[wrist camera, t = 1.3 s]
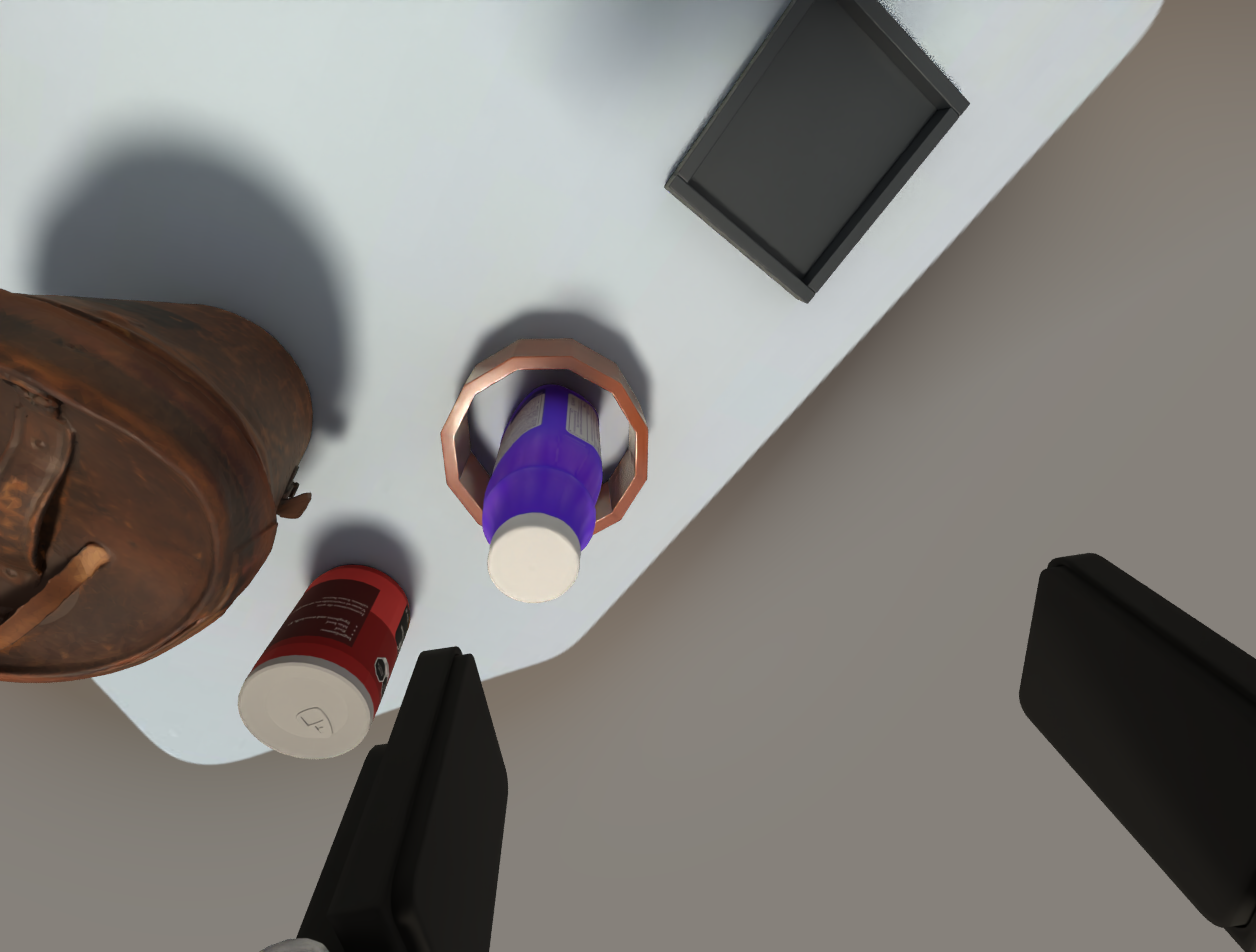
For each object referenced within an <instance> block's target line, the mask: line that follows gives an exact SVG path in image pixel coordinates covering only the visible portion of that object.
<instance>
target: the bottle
mask: <svg viewBox="0 0 1256 952" xmlns="http://www.w3.org/2000/svg"><path fill="white" fill-rule="evenodd" d="M602 476H603V471H602V461H601V449H600V437H599V419H598V415H597V412H596V410H595V408H594V407H593V406H592V405H591V404H590V402H588V401H587V400H586V399H585V398H584V397H583V396H581V395H580V394H578V393H576V392H574V391H572V390H571V389H567V388H565V387H563V386H560V385H555V384H546V385H542V386H540V387H537V388H536V389H534V390H533V391H532V392H530V393H529V394H528V395H527V396H526V397H525V398H524V399H523V401H522V402H521V403H520V404H519V405H518V407H517V408H516V410H515V411H514V413H513V414H512V416H511V418H510V420H509V422H508V424H507V426H506V428H505V431H504V433H503V436H502V439H501V444H500V448H499V452H498V456H497V460H496V463H495V466H494V470H493V473H492V476H491V478H490V480H489V483H488V485H487V488H486V492H485V497H484V503H483V514H482V527H483V532H484V534H485V537H486V539H487V541H488V543H489V544H490V551H489V554H488V562H487V566H488V572H489V575H490V577H491V580H492V581H493V583H494V584H495V585H496V587H497V588H498V589H499V590H500V591H501V592H502V593H504V594H505V595H506V596H508V597H510V598H513V599H515V600H518V601H521V602H527V603H541V602H546V601H550V600H552V599H555V598H557V597H559V596H561V595H562V594H564V593H565V592H566V591H567V590H568V589H569V588H570V587H571V586H572V585H573V583H574V582H575V580H576V578H577V575H578V572H579V564H580V555H581V551H582V550H583V549H584V548H585V547H586V546H587V544H588V543H589V541H590V539H591V537H592V535H593V532H594V528H595V522H596V509H595V505H596V502H597V499H598V496H599V493H600V489H601V484H602Z"/></svg>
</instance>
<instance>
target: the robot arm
mask: <svg viewBox="0 0 1256 952" xmlns="http://www.w3.org/2000/svg"><path fill="white" fill-rule="evenodd" d="M1019 699H1020V704H1021V706H1022V709H1023V711H1024V713H1025V714H1026V716H1027V717H1028V718H1029V719H1030V721H1031V722H1032V723H1033V724H1034V725H1035V726H1036V727H1037V728H1038V730H1039V731H1040V732H1041V733H1042V734H1043V735H1044V736H1045V738H1046V739H1047V740H1048V741H1049V742H1050V743H1051V744H1052V745H1053V747H1054V748H1055V749H1056V750H1057V751H1058V752H1059V753H1060V754H1061V756H1062V757H1063V758H1064V759H1065V760H1066V761H1067V762H1068V763H1069V765H1070V766H1071V767H1072V768H1073V769H1074V770H1075V771H1076V773H1078V775H1079V776H1080V777H1081V778H1082V779H1083V781H1084V782H1085V783H1086V784H1087V785H1088V786H1089V787H1090V788H1091V790H1092V791H1093V792H1094V793H1095V794H1096V795H1097V796H1098V798H1099V799H1100V800H1101V801H1102V802H1103V803H1104V804H1105V805H1106V807H1107V808H1108V809H1109V810H1110V811H1111V812H1112V813H1113V814H1114V816H1115V817H1116V818H1117V819H1118V820H1119V821H1120V822H1121V824H1122V825H1123V826H1124V827H1125V828H1126V829H1127V830H1128V831H1129V832H1130V834H1131V835H1132V836H1133V837H1134V838H1135V839H1136V840H1137V842H1138V843H1139V844H1140V845H1141V846H1142V847H1143V848H1144V850H1146V852H1147V853H1148V854H1149V855H1150V856H1151V857H1152V859H1153V860H1154V861H1155V862H1156V863H1157V864H1158V865H1159V866H1160V868H1161V869H1162V870H1163V871H1164V872H1165V873H1166V874H1167V876H1168V877H1169V878H1170V879H1171V880H1172V881H1173V882H1174V883H1175V885H1176V886H1177V887H1178V888H1179V889H1180V890H1181V891H1182V893H1183V894H1184V895H1185V896H1186V897H1187V898H1188V899H1189V900H1190V902H1191V903H1192V904H1193V905H1194V906H1195V907H1196V908H1197V910H1198V911H1199V912H1200V913H1201V914H1202V915H1203V916H1204V917H1205V918H1206V919H1207V920H1209V921H1210V922H1212V923H1213V924H1214V925H1216V926H1219V927H1222V928H1224V929H1225V930H1226V931H1227V932H1228V933H1229V934H1230V935H1231V937H1232V938H1233V939H1234V940H1235V941H1236V942H1237V943H1238V944H1239V945H1240V946H1241V948H1242V949H1243V950H1244V951H1245V952H1256V659H1255V658H1254V657H1252V656H1251V655H1249V654H1247V653H1246V652H1244V651H1243V650H1241V649H1240V648H1238V647H1237V646H1235V645H1234V644H1232V643H1231V642H1229V641H1228V640H1226V639H1225V638H1223V637H1221V636H1220V635H1219V634H1217V633H1216V632H1214V631H1213V630H1211V629H1210V628H1208V627H1207V626H1205V625H1204V624H1202V623H1201V622H1199V621H1198V620H1196V619H1195V618H1193V617H1192V616H1190V615H1189V614H1187V613H1186V612H1184V611H1183V610H1181V609H1180V608H1178V607H1177V606H1175V605H1174V604H1172V603H1171V602H1169V601H1167V600H1166V599H1165V598H1163V597H1162V596H1160V595H1159V594H1157V593H1156V592H1154V591H1153V590H1151V589H1149V588H1148V587H1147V586H1145V585H1144V584H1142V583H1140V582H1139V581H1137V580H1136V579H1135V578H1133V577H1132V576H1130V575H1129V574H1127V573H1125V572H1124V571H1123V570H1121V569H1120V568H1118V567H1117V566H1115V565H1113V564H1112V563H1110V562H1109V561H1108V560H1106V559H1105V558H1103V557H1101V556H1099V555H1097V554H1094V553H1086V554H1079V555H1073V556H1066V557H1060V558H1055V559H1053V560H1052V561H1051V562H1050V563H1049V564H1048V567H1047V569H1045V570H1043V571H1042V572H1041V574H1040V577H1039V583H1038V588H1037V594H1036V600H1035V606H1034V611H1033V618H1032V622H1031V628H1030V634H1029V639H1028V645H1027V651H1026V656H1025V662H1024V668H1023V673H1022V679H1021V685H1020V690H1019ZM507 797H508V781H507V773H506V769H505V765H504V762H503V758H502V755H501V751H500V748H499V744H498V741H497V737H496V733H495V730H494V727H493V723H492V719H491V716H490V712H489V709H488V705H487V702H486V698H485V695H484V691H483V688H482V684H481V680H480V677H479V673H478V670H477V666H476V663H475V660H474V657H473V655H472V654H464V655H462V652H461V650H460V648H459V647H457V646H455V647H449V648H442V649H435V650H428V651H423V652H421V653H420V655H419V657H418V660H417V662H416V665H415V668H414V671H413V674H412V676H411V679H410V682H409V685H408V688H407V690H406V693H405V696H404V699H403V702H402V705H401V707H400V710H399V713H398V716H397V719H396V722H395V724H394V727H393V730H392V733H391V735H390V738H389V741H388V744H382V745H375V746H374V747H373V748H372V749H371V750H370V751H369V753H368V755H367V757H366V759H365V762H364V764H363V767H362V769H361V772H360V774H359V777H358V780H357V782H356V785H355V787H354V790H353V793H352V795H351V798H350V800H349V803H348V805H347V808H346V811H345V813H344V816H343V819H342V821H341V824H340V826H339V829H338V831H337V834H336V837H335V839H334V842H333V845H332V847H331V850H330V852H329V855H328V857H327V860H326V863H325V865H324V868H323V870H322V873H321V875H320V878H319V881H318V883H317V886H316V888H315V891H314V893H313V896H312V899H311V901H310V904H309V907H308V909H307V912H306V914H305V917H304V919H303V922H302V925H301V928H300V930H299V932H298V935H297V938H296V939H287V940H285V941H282V942H279V943H276V944H274V945H271V946H268V947H266V948H265V949H263V950H261V951H260V952H489V947H490V939H491V931H492V923H493V914H494V906H495V898H496V889H497V881H498V873H499V864H500V855H501V848H502V839H503V831H504V830H503V829H504V823H505V814H506V805H507Z"/></svg>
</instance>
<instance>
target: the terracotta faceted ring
mask: <svg viewBox="0 0 1256 952" xmlns="http://www.w3.org/2000/svg"><path fill="white" fill-rule="evenodd" d="M550 369H568V370H570V371H572V372H574V373H576V374H578V375H579V376H581V377H583V378H585V379H587V380H589V381H590V382H592V383H594V384H596V385H598V386H600V387H602V388H603V389H605V390H607V391H609V392H611V393H612V394H613V396H614V398H615V399H616V401H617V403H618V404H619V406H620V408H621V409H622V411H623V413H624V414H625V416H626V418H627V419H628V421H629V448H628V450H627V451H626V453H625V454H624V456H623V458H622V459H621V461H620V462H619V464H618V466H617V467H616V469H615V471H614V472H613V474H612V475H611V477H610V479H609V480H608V481H607V482H605V483H603V484H602V485H601V489H600V493H599V496H598V499H597V502H596V505H595V509H596V522H595V528H594V532H593V535H594V534H596V533H597V532H599V531H601V530H603V529H605V528H607V527H609V526H610V525H612V524H614V523H616V522H618V521H620V520H621V519H622V517H623V516H624V514H625V513H626V511H627V509H628V508H629V506H630V505H631V503H632V502H633V500H634V499H635V497H636V495H637V494H638V492H639V491H640V489H641V488H642V486H643V485H644V483H645V481H646V480H647V466H648V427H647V424H646V421H645V418H644V415H643V412H642V408H641V405H640V403H639V401H638V400H637V398H636V396H635V395H634V393H633V391H632V389H631V388H630V386H629V384H628V383H627V381H626V379H625V378H624V376H623V374H622V372H621V371H620V369H619V367H618V366H617V364H616V363H615V362H613V361H611V360H609V359H608V358H606V357H604V356H602V355H600V354H599V353H597V352H595V351H593V350H591V349H590V348H588V347H586V346H584V345H582V344H581V343H579V342H577V341H575V340H574V339H571V338H558V339H518V340H517V341H515V342H513V343H512V344H510V345H508V346H507V347H505V348H503V349H502V350H500V351H498V352H497V353H495V354H493V355H492V356H490V357H488V358H487V359H485V360H483V361H482V362H480V363H478V364H477V365H476V366H475V368H474V369H473V371H472V373H471V374H470V376H469V378H468V380H467V381H466V383H465V385H464V386H463V389H462V391H461V393H460V395H459V397H458V399H457V401H456V403H455V405H454V407H453V409H452V411H451V413H450V415H449V417H448V419H447V421H446V423H445V425H444V427H443V429H442V431H441V442H442V450H443V458H444V466H445V474H446V482H447V485H448V486H449V487H450V489H451V490H452V491H453V493H454V494H455V495H456V496H457V498H458V499H459V500H460V501H461V503H462V504H463V505H464V507H465V508H466V509H467V510H468V512H469V513H470V514H471V515H472V517H473V518H474V519H475V521H476V522H477V523H478V524H479V525H481V526H482V514H483V503H484V497H485V492H486V488H487V485H488V483H489V480H490V478H491V477H490V476H489V474H488V473H487V472H486V470H485V469H484V468H483V466H482V465H481V464H480V462H479V461H478V460H477V458H476V457H475V456H474V454H473V453H472V452H471V445H470V435H469V425H468V416H467V410H468V408H469V406H470V404H471V402H472V400H473V398H474V396H475V395H476V394H478V393H479V392H481V391H483V390H484V389H486V388H488V387H489V386H491V385H493V384H494V383H496V382H498V381H499V380H501V379H503V378H504V377H506V376H508V375H509V374H511V373H513V372H515V371H516V370H550Z"/></svg>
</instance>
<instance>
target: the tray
mask: <svg viewBox="0 0 1256 952" xmlns="http://www.w3.org/2000/svg"><path fill="white" fill-rule="evenodd" d="M969 105H970V103H969V102H968V101H967V99H966V98H965V97H964V96H963V95H962V94H961V93H960V92H959V91H958V89H957V88H956V87H955V86H954V85H953V84H952V83H951V82H950V81H949V79H948V78H947V77H946V76H945V75H944V74H943V73H942V72H941V71H940V70H939V68H938V67H937V66H936V65H935V64H934V63H933V62H932V61H931V60H930V58H929V57H928V56H927V55H926V54H925V53H924V52H923V51H922V50H921V49H920V47H919V46H918V45H917V44H916V43H915V42H914V41H913V40H912V39H911V37H910V36H909V35H908V34H907V33H906V32H905V31H904V30H903V29H902V28H901V26H900V25H899V24H898V23H897V22H896V21H895V20H894V19H893V18H892V16H891V15H890V14H889V13H888V12H887V11H886V10H885V9H884V8H883V6H882V5H881V4H880V3H879V2H878V1H877V0H792V1H791V3H790V4H789V6H788V7H787V9H786V10H785V12H784V13H783V15H782V16H781V17H780V19H779V20H778V22H777V23H776V25H775V26H774V28H773V29H772V31H771V32H770V33H769V35H768V36H767V38H766V39H765V41H764V42H763V44H762V45H761V47H760V48H759V49H758V51H757V52H756V54H755V55H754V57H753V58H752V60H751V61H750V63H749V64H748V66H747V67H746V68H745V70H744V71H743V73H742V74H741V76H740V77H739V79H738V80H737V82H736V83H735V84H734V86H733V87H732V89H731V90H730V92H729V93H728V95H727V96H726V98H725V99H724V100H723V102H722V103H721V105H720V106H719V108H718V109H717V111H716V112H715V114H714V115H713V116H712V118H711V119H710V121H709V122H708V124H707V125H706V127H705V128H704V130H703V131H702V132H701V134H700V135H699V137H698V138H697V140H696V141H695V143H694V144H693V146H692V147H691V149H690V150H689V151H688V153H687V154H686V156H685V157H684V159H683V160H682V162H681V163H680V165H679V166H678V167H677V169H676V170H675V172H674V173H673V175H672V176H671V178H670V179H669V181H668V182H667V183H666V185H665V186H664V188H665V189H666V190H668V191H669V192H670V193H671V194H672V195H674V196H675V197H676V198H677V199H678V200H679V201H681V202H682V203H683V204H684V205H685V206H687V207H688V208H689V209H690V210H691V211H693V212H694V213H695V214H696V215H697V216H699V217H700V218H701V219H702V220H703V221H704V222H706V223H707V224H708V225H709V226H710V227H712V228H713V229H714V230H715V231H716V232H718V233H719V234H720V235H721V236H722V237H724V238H725V239H726V240H727V241H728V242H730V243H731V244H732V245H733V246H734V247H735V248H737V249H738V250H739V251H740V252H741V253H743V254H744V255H745V256H746V257H747V258H749V259H750V260H751V261H752V262H753V263H755V264H756V265H757V266H758V267H759V268H760V269H762V270H763V271H764V272H765V273H766V274H768V275H769V276H770V277H771V278H772V279H774V280H775V281H776V282H777V283H778V284H780V285H781V286H782V287H783V288H784V289H786V290H787V291H788V292H789V293H790V294H791V295H793V296H794V297H795V298H796V299H798V300H800V301H802V302H805V303H809V302H810V300H811V299H812V298H813V297H814V295H815V293H817V292H818V291H819V289H820V288H821V287H822V286H823V284H824V283H825V282H826V281H827V279H828V278H829V277H830V276H831V275H832V273H833V272H834V271H835V270H836V268H837V267H838V266H839V265H840V263H841V262H842V261H843V260H844V259H845V257H846V256H847V255H848V254H849V252H850V251H851V250H852V249H853V247H854V246H855V245H856V244H857V243H858V241H859V240H860V239H861V238H862V236H863V235H864V234H865V233H866V231H867V230H868V229H869V228H870V226H871V225H872V224H873V223H874V222H875V220H876V219H877V218H878V217H879V215H880V214H881V213H882V212H883V210H884V209H885V208H886V207H887V206H888V204H889V203H890V202H891V201H892V199H893V198H894V197H895V196H896V194H897V193H898V192H899V191H900V190H901V188H902V187H903V186H904V185H905V183H906V182H907V181H908V180H909V178H910V177H911V176H912V175H913V174H914V172H915V171H916V170H917V169H918V167H919V166H920V165H921V164H922V162H923V161H924V160H925V159H926V158H927V156H928V155H929V154H930V153H931V151H932V150H933V149H934V148H935V146H936V145H937V144H938V143H939V142H940V140H941V139H942V138H943V137H944V135H945V134H946V133H947V132H948V130H949V129H950V128H951V127H952V126H953V124H954V123H955V122H956V121H957V119H958V118H959V116H961V114H962V113H963V112H964V111H965V110H966V108H967V107H968V106H969Z"/></svg>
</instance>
